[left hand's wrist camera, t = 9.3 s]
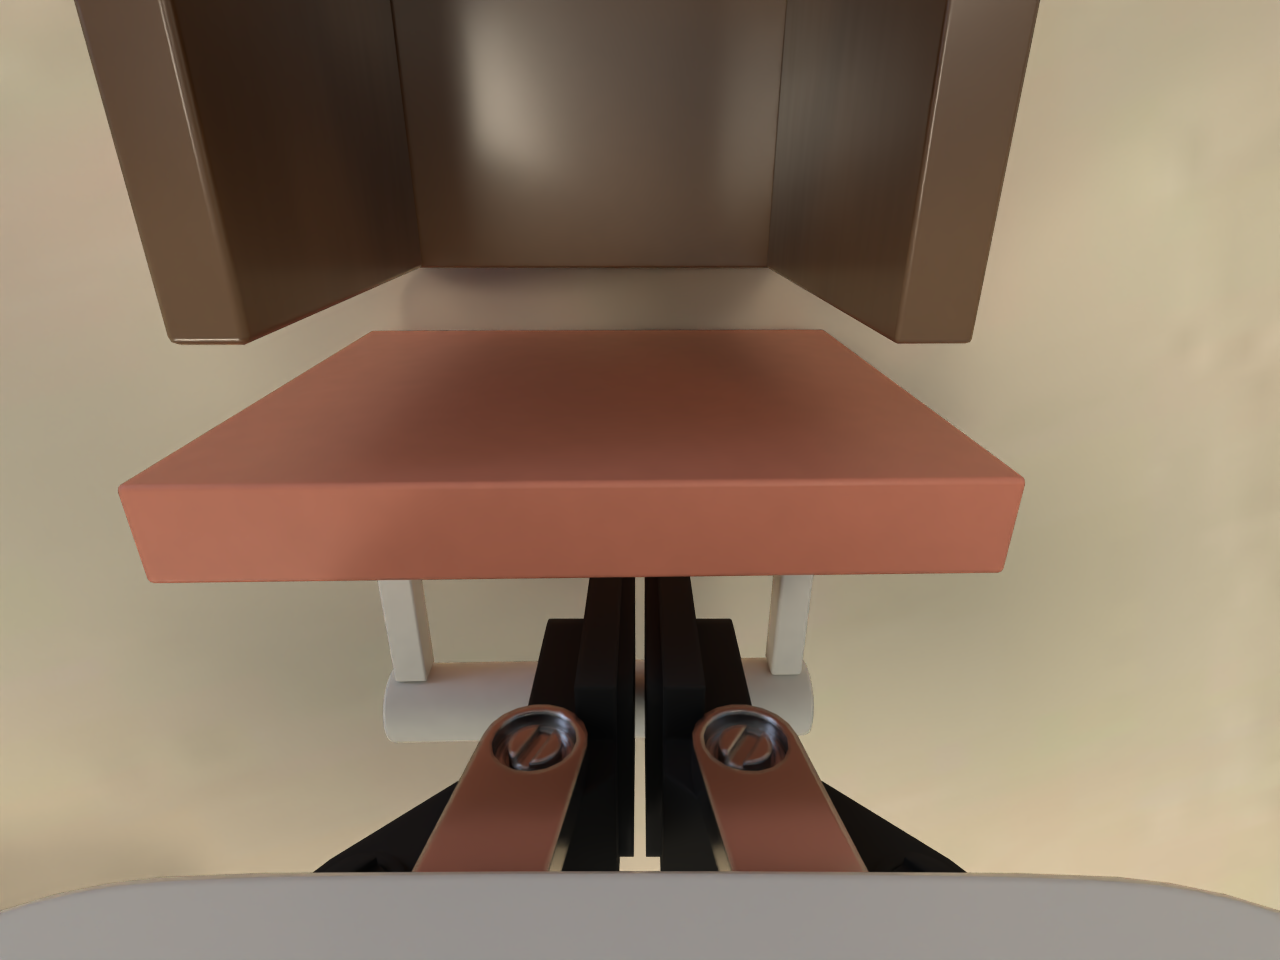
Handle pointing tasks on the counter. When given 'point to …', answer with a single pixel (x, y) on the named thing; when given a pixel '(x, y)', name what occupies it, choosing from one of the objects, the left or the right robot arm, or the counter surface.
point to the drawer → (567, 238)
